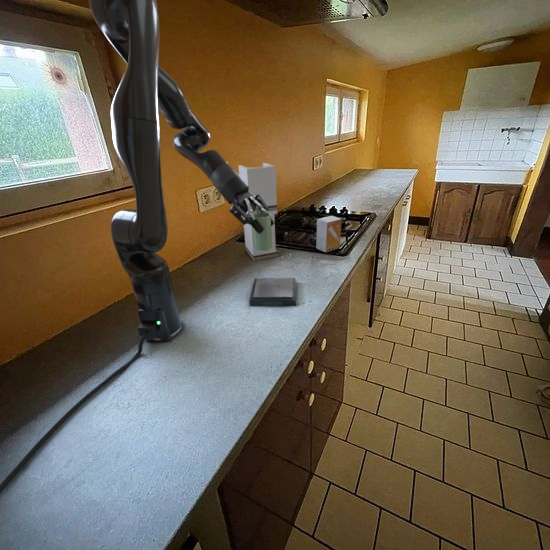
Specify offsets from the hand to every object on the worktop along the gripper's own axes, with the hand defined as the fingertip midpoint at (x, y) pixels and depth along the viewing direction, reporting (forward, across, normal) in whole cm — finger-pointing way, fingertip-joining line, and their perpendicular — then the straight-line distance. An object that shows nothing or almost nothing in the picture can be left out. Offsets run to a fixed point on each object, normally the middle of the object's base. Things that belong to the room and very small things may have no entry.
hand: (267, 228), depth 88 cm
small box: (+19, +42, +12) cm, 48 cm away
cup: (+3, 0, +6) cm, 7 cm away
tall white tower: (+2, +27, +29) cm, 40 cm away
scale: (+16, 0, +15) cm, 22 cm away
